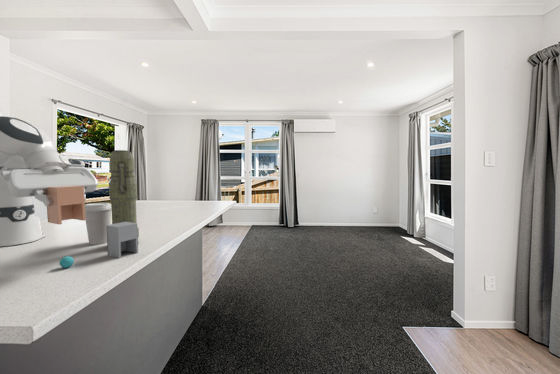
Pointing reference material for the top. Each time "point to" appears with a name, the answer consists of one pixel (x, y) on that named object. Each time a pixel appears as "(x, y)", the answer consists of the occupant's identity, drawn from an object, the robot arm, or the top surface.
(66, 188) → the tan block
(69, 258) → the teal ball
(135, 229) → the light gray boxy block
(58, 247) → the top surface
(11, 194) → the robot arm
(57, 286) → the top surface
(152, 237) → the top surface
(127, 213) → the thermos
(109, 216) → the coffee cup
